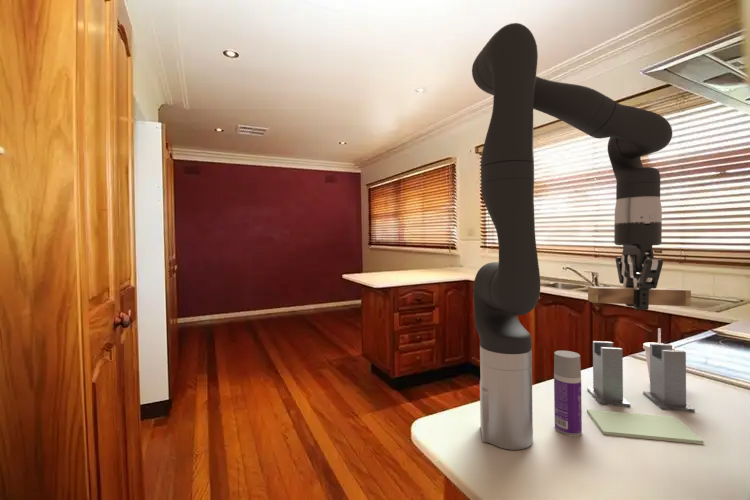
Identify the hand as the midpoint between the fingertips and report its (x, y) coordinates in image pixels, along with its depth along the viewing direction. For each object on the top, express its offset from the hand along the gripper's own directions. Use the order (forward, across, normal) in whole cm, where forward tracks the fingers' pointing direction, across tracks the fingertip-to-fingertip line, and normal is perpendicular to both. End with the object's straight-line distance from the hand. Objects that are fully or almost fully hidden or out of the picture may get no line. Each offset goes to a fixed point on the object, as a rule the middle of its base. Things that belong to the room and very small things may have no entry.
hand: (636, 307), depth 70 cm
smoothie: (+23, -24, +16) cm, 37 cm away
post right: (+23, -12, +12) cm, 29 cm away
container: (+24, +4, -14) cm, 28 cm away
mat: (+24, +1, 0) cm, 24 cm away
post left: (+23, -12, 0) cm, 26 cm away
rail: (-1, 0, 0) cm, 1 cm away
